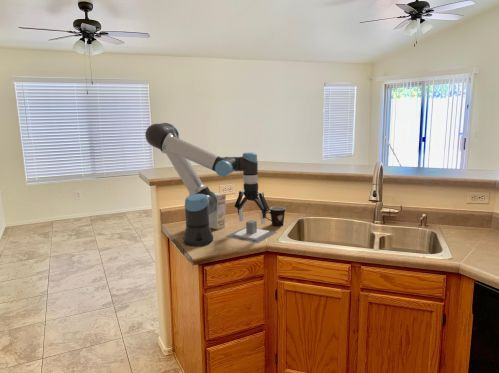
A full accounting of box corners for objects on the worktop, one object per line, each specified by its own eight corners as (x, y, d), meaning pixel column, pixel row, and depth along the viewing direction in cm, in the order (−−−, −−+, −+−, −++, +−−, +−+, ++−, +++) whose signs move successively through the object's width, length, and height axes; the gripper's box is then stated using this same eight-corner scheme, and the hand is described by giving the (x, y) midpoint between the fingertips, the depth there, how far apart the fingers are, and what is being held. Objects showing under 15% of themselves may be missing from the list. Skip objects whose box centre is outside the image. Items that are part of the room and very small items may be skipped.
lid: (233, 235, 192) (232, 223, 191) (247, 228, 204) (247, 216, 202) (255, 240, 185) (255, 227, 183) (269, 232, 196) (269, 220, 195)
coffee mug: (285, 223, 215) (285, 206, 213) (285, 227, 207) (285, 210, 205) (265, 222, 216) (265, 206, 214) (264, 227, 208) (264, 210, 206)
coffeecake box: (225, 227, 208) (226, 193, 206) (216, 229, 203) (217, 195, 200) (207, 223, 217) (207, 190, 215) (198, 225, 212) (198, 191, 210)
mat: (225, 237, 191) (225, 236, 191) (246, 227, 208) (246, 226, 208) (257, 243, 181) (257, 243, 181) (277, 232, 197) (277, 232, 197)
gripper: (275, 183, 185) (276, 223, 189) (235, 179, 199) (236, 217, 203) (268, 185, 179) (268, 227, 183) (227, 182, 193) (228, 221, 197)
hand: (251, 222), depth 193 cm, fingers open, 13 cm apart
